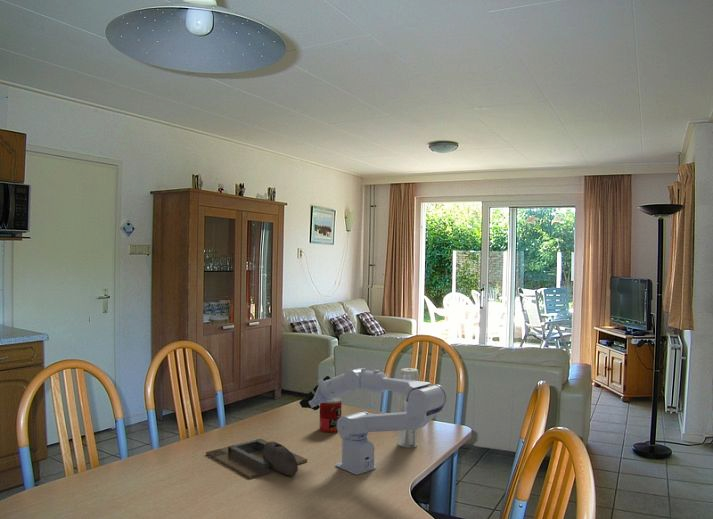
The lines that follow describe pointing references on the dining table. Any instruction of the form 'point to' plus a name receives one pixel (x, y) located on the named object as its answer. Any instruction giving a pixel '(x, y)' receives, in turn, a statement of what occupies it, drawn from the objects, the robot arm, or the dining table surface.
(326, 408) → the canned food
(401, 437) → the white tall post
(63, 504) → the dining table surface
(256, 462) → the brown tray
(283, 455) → the perforated stone tool
